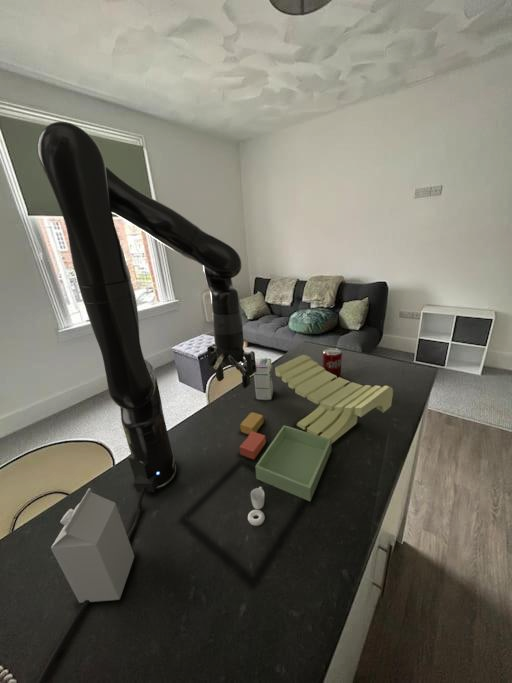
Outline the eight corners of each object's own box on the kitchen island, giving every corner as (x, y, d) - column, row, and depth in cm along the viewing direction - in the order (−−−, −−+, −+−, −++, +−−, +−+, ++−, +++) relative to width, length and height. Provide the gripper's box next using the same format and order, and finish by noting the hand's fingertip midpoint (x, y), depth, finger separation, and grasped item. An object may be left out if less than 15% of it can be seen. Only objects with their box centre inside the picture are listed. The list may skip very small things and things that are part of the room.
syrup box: (271, 400, 102) (269, 365, 97) (255, 399, 103) (252, 364, 98) (273, 392, 107) (271, 358, 102) (258, 391, 108) (256, 357, 103)
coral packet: (254, 460, 76) (253, 451, 75) (240, 455, 78) (239, 446, 77) (266, 444, 81) (265, 435, 80) (253, 439, 84) (252, 431, 82)
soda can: (319, 375, 117) (319, 349, 112) (334, 372, 119) (335, 346, 114) (328, 383, 110) (329, 356, 106) (344, 380, 112) (345, 353, 108)
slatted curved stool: (387, 435, 82) (394, 382, 75) (356, 464, 72) (362, 407, 66) (308, 395, 103) (308, 352, 97) (277, 414, 94) (275, 367, 88)
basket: (310, 503, 63) (310, 488, 62) (256, 479, 70) (255, 466, 68) (331, 452, 77) (331, 439, 75) (284, 437, 84) (283, 425, 82)
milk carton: (135, 556, 55) (110, 486, 48) (119, 600, 48) (88, 527, 41) (99, 559, 55) (69, 489, 48) (79, 604, 48) (40, 530, 41)
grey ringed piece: (260, 534, 58) (259, 521, 56) (232, 513, 63) (230, 500, 61) (282, 503, 64) (282, 490, 63) (255, 486, 69) (254, 474, 67)
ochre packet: (253, 437, 85) (252, 428, 83) (240, 432, 87) (240, 424, 86) (263, 423, 90) (263, 415, 89) (252, 419, 92) (251, 411, 91)
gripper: (197, 329, 72) (204, 384, 78) (243, 336, 65) (247, 396, 71) (215, 321, 78) (220, 372, 84) (259, 327, 71) (262, 382, 77)
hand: (233, 383), depth 77 cm, fingers open, 8 cm apart
